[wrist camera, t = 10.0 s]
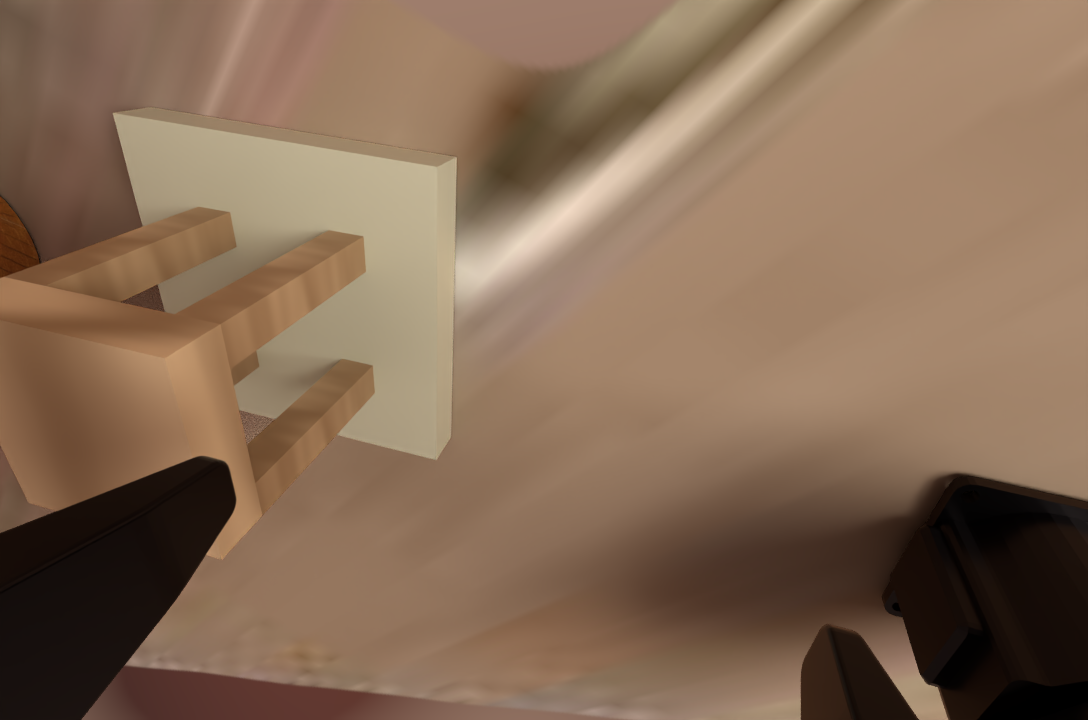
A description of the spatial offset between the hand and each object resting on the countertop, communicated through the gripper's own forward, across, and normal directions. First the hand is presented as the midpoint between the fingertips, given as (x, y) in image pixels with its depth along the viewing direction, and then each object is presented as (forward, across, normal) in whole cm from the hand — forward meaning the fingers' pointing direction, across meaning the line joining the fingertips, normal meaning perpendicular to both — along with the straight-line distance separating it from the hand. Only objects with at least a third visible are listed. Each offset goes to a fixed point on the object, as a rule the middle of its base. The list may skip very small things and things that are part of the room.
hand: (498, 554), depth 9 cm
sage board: (+12, +11, +3) cm, 16 cm away
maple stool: (+10, +11, +3) cm, 15 cm away
